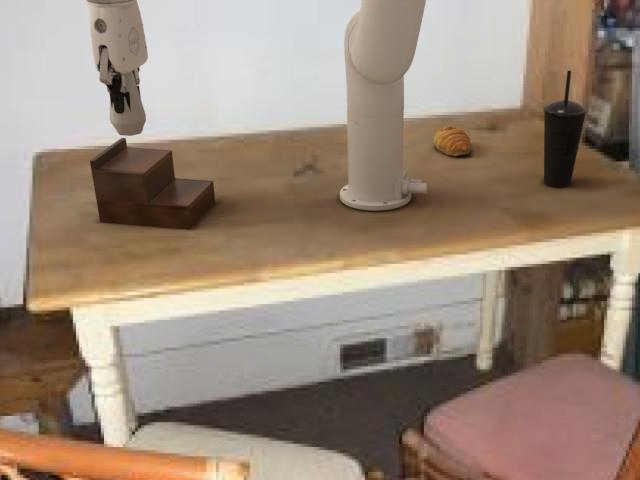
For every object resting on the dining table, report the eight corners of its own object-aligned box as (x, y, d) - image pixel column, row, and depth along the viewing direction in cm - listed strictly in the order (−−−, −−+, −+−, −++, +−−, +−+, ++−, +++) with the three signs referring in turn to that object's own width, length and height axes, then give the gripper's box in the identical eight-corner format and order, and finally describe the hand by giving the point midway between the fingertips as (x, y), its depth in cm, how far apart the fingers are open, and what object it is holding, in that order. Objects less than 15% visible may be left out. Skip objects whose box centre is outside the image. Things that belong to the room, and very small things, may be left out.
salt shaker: (139, 138, 149) (127, 55, 143) (105, 136, 150) (93, 53, 144) (153, 127, 154) (143, 46, 147) (121, 125, 155) (109, 45, 148)
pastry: (479, 156, 183) (480, 137, 181) (447, 160, 181) (447, 141, 179) (460, 141, 190) (461, 123, 188) (429, 145, 188) (430, 127, 186)
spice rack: (215, 202, 163) (209, 143, 157) (190, 229, 153) (183, 167, 147) (130, 196, 165) (121, 137, 160) (99, 222, 156) (89, 160, 150)
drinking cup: (583, 179, 171) (596, 68, 161) (572, 192, 166) (586, 78, 155) (542, 173, 174) (553, 63, 164) (530, 186, 168) (541, 74, 158)
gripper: (109, 3, 134) (127, 130, 143) (155, -16, 147) (169, 100, 157) (61, 1, 135) (83, 127, 145) (111, -18, 149) (127, 98, 158)
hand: (127, 112), depth 151 cm, fingers closed on salt shaker, 3 cm apart
